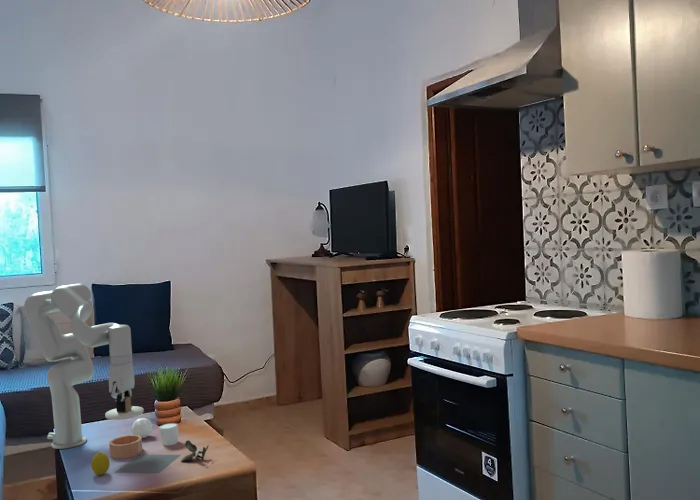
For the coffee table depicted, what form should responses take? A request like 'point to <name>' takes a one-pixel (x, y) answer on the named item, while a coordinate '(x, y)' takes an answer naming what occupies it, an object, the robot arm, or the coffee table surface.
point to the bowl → (125, 446)
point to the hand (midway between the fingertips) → (124, 409)
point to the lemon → (100, 463)
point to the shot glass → (169, 434)
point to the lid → (128, 413)
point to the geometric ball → (142, 427)
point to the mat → (147, 464)
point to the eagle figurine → (194, 451)
